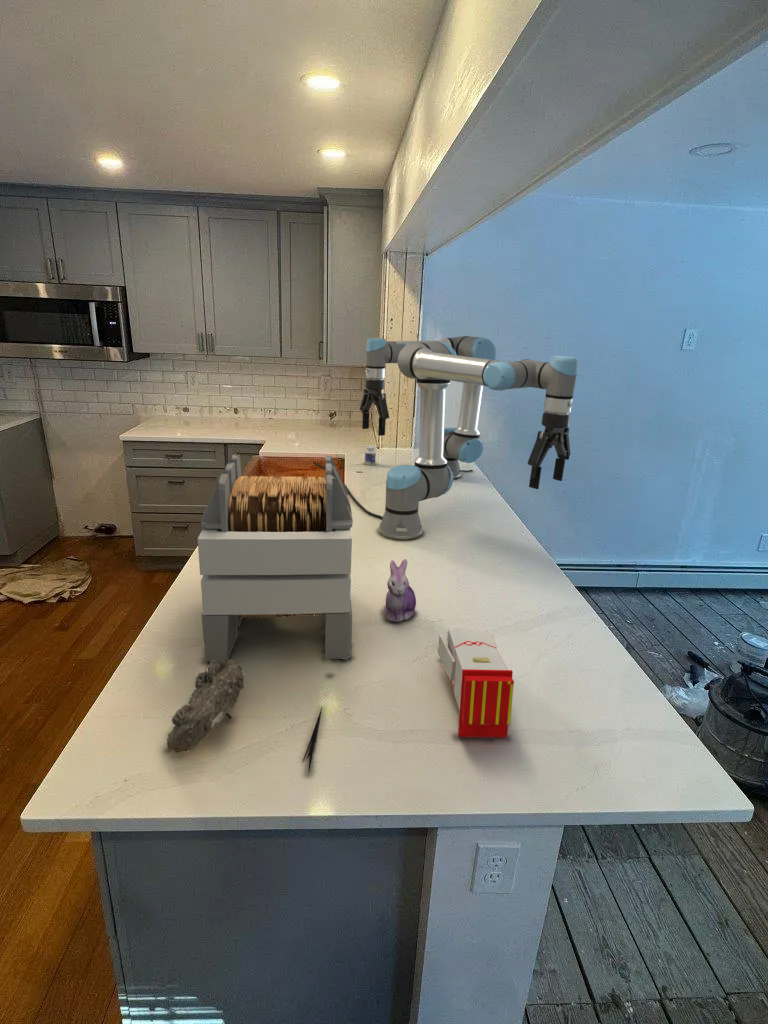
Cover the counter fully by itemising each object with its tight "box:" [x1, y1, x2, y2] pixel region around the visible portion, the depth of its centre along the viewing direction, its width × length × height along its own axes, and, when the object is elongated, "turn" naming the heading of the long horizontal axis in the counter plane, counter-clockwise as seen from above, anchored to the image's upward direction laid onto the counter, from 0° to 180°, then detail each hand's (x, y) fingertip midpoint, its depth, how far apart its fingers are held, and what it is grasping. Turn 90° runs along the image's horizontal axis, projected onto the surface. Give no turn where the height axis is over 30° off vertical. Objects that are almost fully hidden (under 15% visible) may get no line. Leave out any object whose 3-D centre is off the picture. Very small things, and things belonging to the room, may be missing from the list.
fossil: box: [166, 658, 245, 754], centre depth 106 cm, size 22×10×15 cm
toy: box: [437, 628, 515, 738], centre depth 117 cm, size 12×13×30 cm
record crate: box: [197, 454, 354, 663], centre depth 134 cm, size 34×33×41 cm
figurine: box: [384, 558, 417, 623], centre depth 145 cm, size 9×10×15 cm
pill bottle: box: [364, 445, 377, 466], centre depth 286 cm, size 5×5×9 cm
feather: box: [301, 673, 332, 771], centre depth 108 cm, size 2×28×2 cm
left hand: (545, 483), depth 169 cm, fingers open, 13 cm apart
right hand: (373, 432), depth 231 cm, fingers open, 13 cm apart
